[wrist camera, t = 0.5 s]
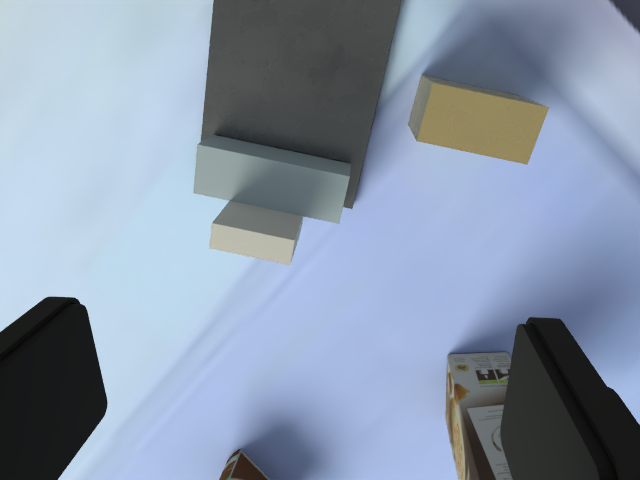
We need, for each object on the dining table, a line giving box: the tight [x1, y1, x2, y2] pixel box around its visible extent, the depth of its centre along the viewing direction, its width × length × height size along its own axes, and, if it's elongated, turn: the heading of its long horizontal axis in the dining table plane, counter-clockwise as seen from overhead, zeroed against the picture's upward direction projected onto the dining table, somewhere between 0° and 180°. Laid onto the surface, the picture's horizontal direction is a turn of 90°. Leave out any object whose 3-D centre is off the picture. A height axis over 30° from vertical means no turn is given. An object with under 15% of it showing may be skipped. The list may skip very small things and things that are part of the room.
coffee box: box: [446, 352, 513, 480], centre depth 43 cm, size 9×6×16 cm
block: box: [408, 75, 549, 164], centre depth 36 cm, size 8×4×7 cm, turn 79°
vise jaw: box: [193, 135, 351, 265], centre depth 38 cm, size 12×6×9 cm, turn 79°
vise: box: [201, 0, 401, 209], centre depth 37 cm, size 14×20×5 cm
